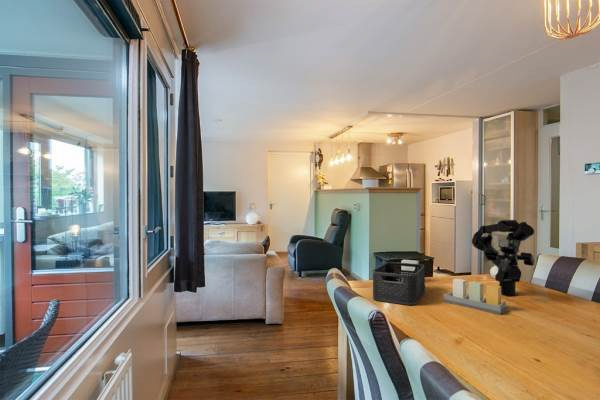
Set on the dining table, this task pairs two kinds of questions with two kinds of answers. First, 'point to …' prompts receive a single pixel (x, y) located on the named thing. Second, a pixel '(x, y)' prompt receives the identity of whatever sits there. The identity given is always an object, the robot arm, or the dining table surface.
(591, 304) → the dining table surface
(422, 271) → the storage bin
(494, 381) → the dining table surface
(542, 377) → the dining table surface
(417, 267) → the ink box
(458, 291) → the white rectangular block
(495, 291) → the orange block
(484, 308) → the grey divided tray
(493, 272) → the geometric ball
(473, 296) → the pale green tall block
